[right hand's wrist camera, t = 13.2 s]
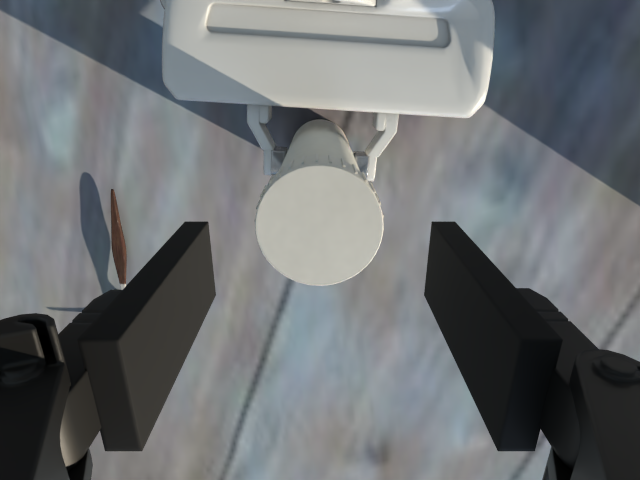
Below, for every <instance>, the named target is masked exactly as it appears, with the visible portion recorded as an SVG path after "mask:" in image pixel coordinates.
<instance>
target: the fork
mask: <svg viewBox="0 0 640 480" xmlns="http://www.w3.org/2000/svg"><path fill="white" fill-rule="evenodd" d="M111 233H112V252H113V257H114V262H115V266H116V270H117V274H118V278H119V282H120V286H121V290H123V289H124V288H125V287H126V246H125V240H124V236H123V232H122V227H121V223H120V217H119V212H118V207H117V202H116V197H115V192H114V189H111Z"/></svg>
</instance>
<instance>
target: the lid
mask: <svg viewBox="0 0 640 480" xmlns="http://www.w3.org/2000/svg"><path fill="white" fill-rule="evenodd" d="M260 197H261V199H260V201H259V203H258V205H257V207H256V209H257V213H256V218H255V232H256V237H257V241H258V244H259V247H260V249H261V251H262V253H263V255H264V256H265V258H266V259H267V261H268V262H269V263H270V264H271V265H272V266H273V267H274V268H275V269H276V270H277V271H278V272H280V273H281V274H282V275H284V276H285V277H287V278H289V279H291V280H294V281H296V282H299V283H303V284H307V285H331V284H336V283H339V282H342V281H345V280H347V279H349V278H351V277H353V276H355V275H356V274H358V273H359V272H360V271H361V270H363V269H364V268H365V267H366V266H367V265H368V264H369V263H370V261H371V260H372V259H373V257H374V256H375V254H376V252H377V250H378V248H379V246H380V243H381V240H382V235H383V217H384V215H383V213H382V211H381V207H380V205H381V202H380V200H379V198H378V196H377V194H376V191H375V189H374V187H373V185H372V183H371V181H370V182H369V181H368V180H367V178H366V176H365V173H364V172H362V173H361V172H360V171H359V170H358V169H357V168H356V166H355V164H352V165H351V164H350V163H348V162H346V161H344V158H341V159H339V158H336V157H332V156H331V155H330V154H329V156H325V155H318V154H316V155H313V156H307V157H306V156H305V155H304V156H303V157H302V158H299V159H297V160H295V161H293V160H291V161H290V163H289V164H287V165H286V166H284V167H282V166H281V167H280V169H279V171H278V172H277V173H276V174H275V176H273V175H272V176H271V178H270V180H269V183H268V185H267V186H265V188H264V190H263V192H262V194H261V196H260Z"/></svg>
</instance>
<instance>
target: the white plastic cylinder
mask: <svg viewBox="0 0 640 480" xmlns="http://www.w3.org/2000/svg"><path fill="white" fill-rule="evenodd" d="M316 154H318V155H325V156H329V154H330V155H331V156H332V157H336V158H339V159H341V158H344V161H346V162H348V163H350V164H351V165H352V164H355V166H356V168H357V169H358V170H359V168H358V165H357V163H356V160H355V158H354V155H353V153H352V151H351V148H350V146H349V143H348V141H347V138H346V136H345V134H344V132H343V131H342V129H341V128H340V127H339V126H337V125H336V124H335V123H333V122H331V121H328V120H323V119H317V120H312V121H309V122H307V123H305V124H304V125H302V126H301V127H300V128H299V129H298V130H297V132H296V133H295V135H294V137H293V140H292V142H291V144H290V147H289V149H288V151H287V154H286V156H285V158H284V161H283V163H282V165H281V166H282V167H284V166H286V165H287V164H289V163H290V161H291V160H293V161H295V160H297V159H299V158H302V157H303V156H304V155H305V156H306V157H307V156H313V155H316ZM359 171H360V170H359Z"/></svg>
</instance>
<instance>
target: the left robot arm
mask: <svg viewBox="0 0 640 480" xmlns="http://www.w3.org/2000/svg"><path fill="white" fill-rule="evenodd" d="M160 2H161V4H162V6H163V8H164V10H165V11H164V21H163V36H162V76H163V82H164V84H165V86H166V87H167V88H168V90H169V91H170V92H171V93H172V95H173V96H174V97H175V98H176V99H178V100H188V101H204V102H219V103H235V104H247V124H248V125H249V127H250V129H251V131H252V133H253V134H254V136H255V138H256V140H257V142H258V143H259V145H260V147H261V149H262V150H264V175H275V174H276V173H277V172H278V171H279V169H280V167H281V165H282V163H283V161H284V158H285V156H286V154H287V147H279V146H276V145H275V143H274V141H273V139H272V137H271V135H270V133H269V131H268V129H267V127H266V125H265V124H267V123H268V122H269V121H270V120H271V119H272V106H283V107H299V108H314V109H330V110H346V111H362V112H373V123H372V125H373V127H374V128H375V129H376V130H378V132H377V134H376V135H375V137H374V138H373V140H372V141H371V143H370V144H369V146H368V147H367V148H366V150H365V152H359V151H354V152H353V155H354V158H355V160H356V163H357V165H358V168H359V170H360V172H361V173H362V172H364V173H365V176H366V178H367V180H368V181H374V177H375V169H376V160H377V157H379V156H380V154H381V153H382V152H383V150H384V149H385V147H386V146H387V145H388V143H389V142H390V141H391V139H392V138H393V136H394V135H395V134H396V132H397V125H398V117H399V114H409V115H425V116H441V117H457V118H469V117H471V116H472V115H473V114H474V113H475V112H476V111H477V110H478V109H479V108H480V107H481V106H482V105H483V103H484V102H485V99H486V96H487V91H488V86H489V81H490V74H491V67H492V59H493V49H494V35H495V11H494V5H493V2H492V0H160Z"/></svg>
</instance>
